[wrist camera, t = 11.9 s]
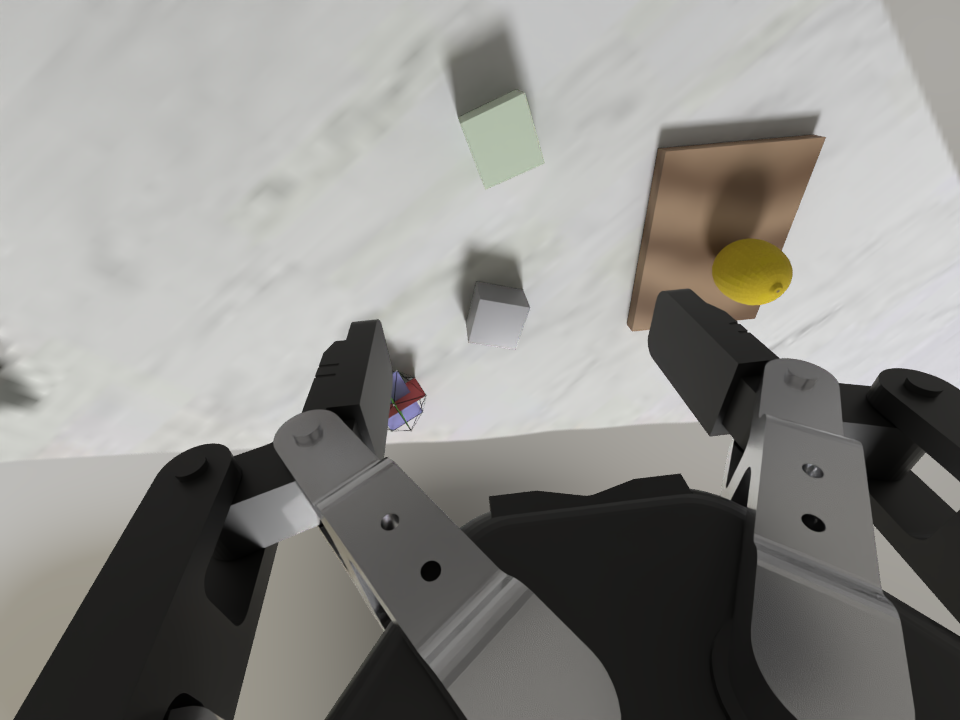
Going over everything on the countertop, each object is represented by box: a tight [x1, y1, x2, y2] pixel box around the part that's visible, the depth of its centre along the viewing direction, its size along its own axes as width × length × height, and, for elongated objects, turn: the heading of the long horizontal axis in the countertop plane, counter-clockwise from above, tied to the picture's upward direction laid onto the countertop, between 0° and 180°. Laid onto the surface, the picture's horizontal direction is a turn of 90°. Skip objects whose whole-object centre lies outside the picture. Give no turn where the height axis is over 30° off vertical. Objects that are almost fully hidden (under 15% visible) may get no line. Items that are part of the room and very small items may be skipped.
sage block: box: [458, 90, 545, 190], centre depth 33 cm, size 5×5×4 cm
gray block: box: [466, 281, 530, 350], centre depth 42 cm, size 5×5×4 cm
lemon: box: [712, 238, 792, 305], centre depth 38 cm, size 6×6×8 cm
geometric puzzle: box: [387, 370, 427, 432], centre depth 46 cm, size 7×7×8 cm
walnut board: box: [627, 135, 826, 331], centre depth 41 cm, size 18×14×2 cm
